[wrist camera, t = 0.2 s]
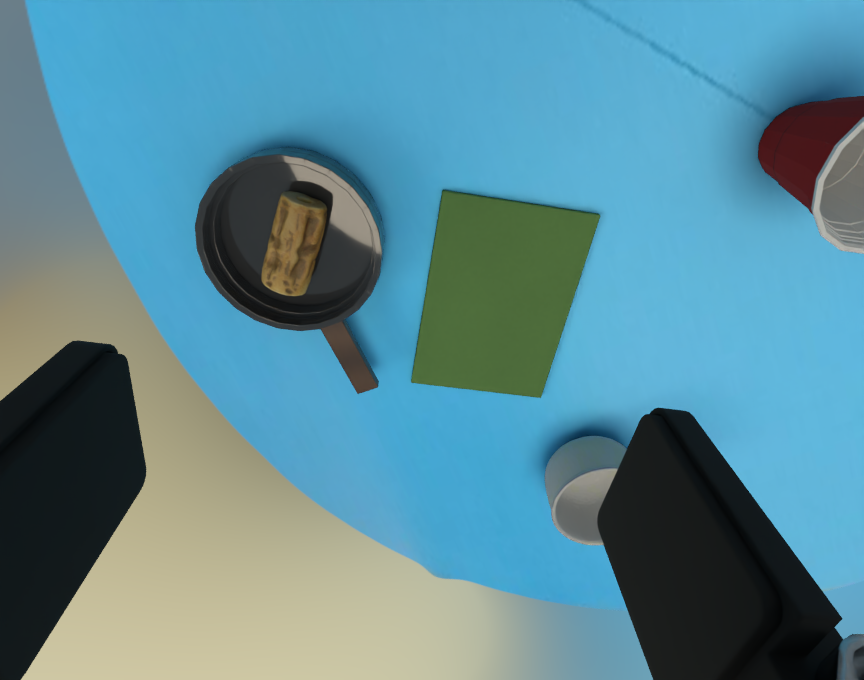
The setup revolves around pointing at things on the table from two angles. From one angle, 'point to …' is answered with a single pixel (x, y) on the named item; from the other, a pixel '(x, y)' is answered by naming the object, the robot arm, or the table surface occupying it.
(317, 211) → the carved stone cylinder
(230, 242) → the pan
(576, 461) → the teacup
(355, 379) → the pan handle
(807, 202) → the plastic cup
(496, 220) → the green mat
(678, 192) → the table surface
